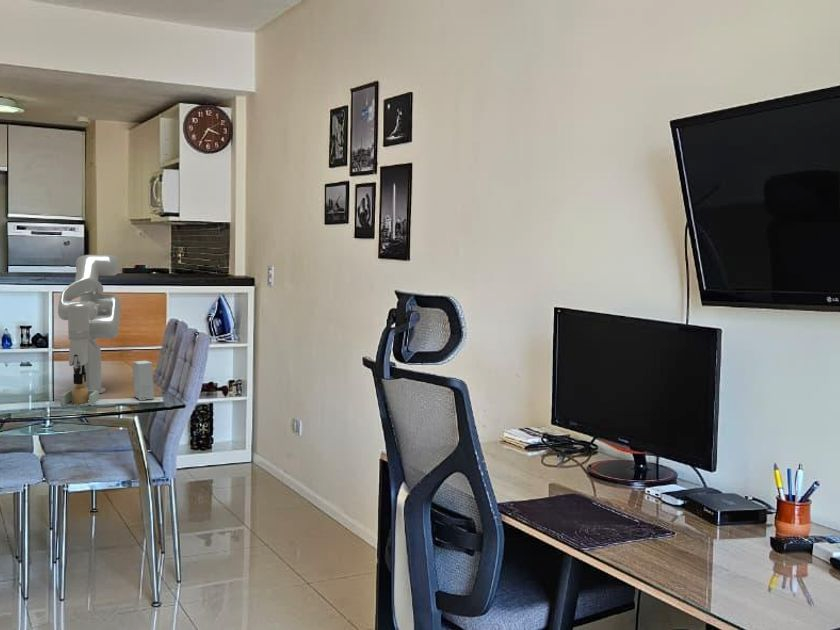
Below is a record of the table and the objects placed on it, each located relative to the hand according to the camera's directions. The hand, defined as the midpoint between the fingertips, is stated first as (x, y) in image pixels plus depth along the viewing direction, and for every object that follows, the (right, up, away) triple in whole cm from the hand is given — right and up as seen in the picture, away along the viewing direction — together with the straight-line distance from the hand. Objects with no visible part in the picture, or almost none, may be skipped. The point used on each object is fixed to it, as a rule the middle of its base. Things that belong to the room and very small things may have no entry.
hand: (79, 382), depth 343 cm
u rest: (0, -8, +1) cm, 8 cm away
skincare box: (+21, -8, +12) cm, 25 cm away
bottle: (0, -8, +1) cm, 8 cm away
